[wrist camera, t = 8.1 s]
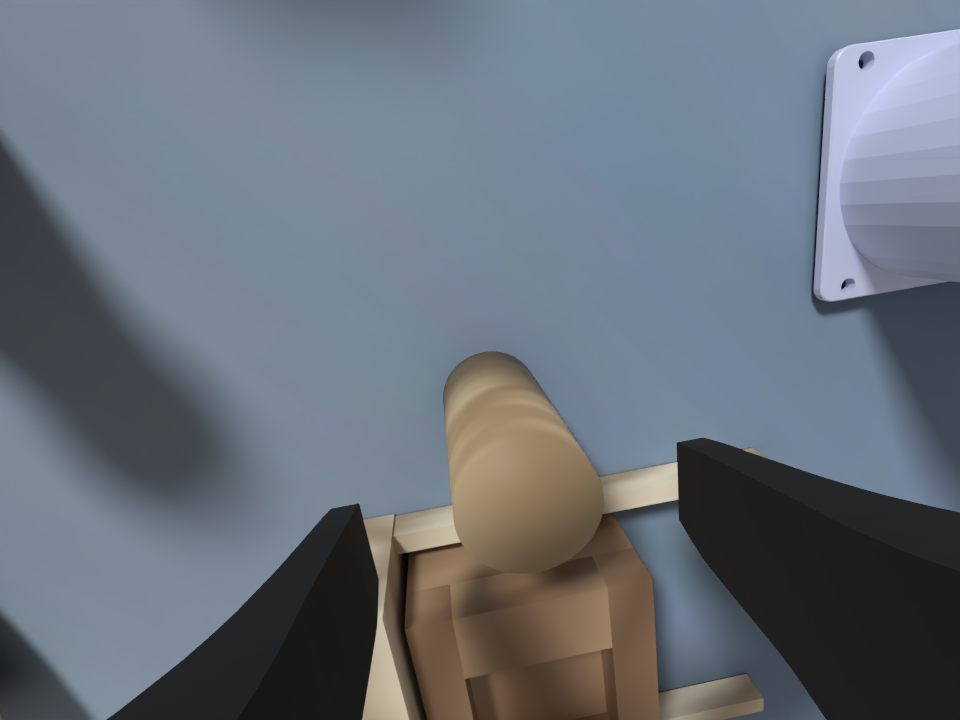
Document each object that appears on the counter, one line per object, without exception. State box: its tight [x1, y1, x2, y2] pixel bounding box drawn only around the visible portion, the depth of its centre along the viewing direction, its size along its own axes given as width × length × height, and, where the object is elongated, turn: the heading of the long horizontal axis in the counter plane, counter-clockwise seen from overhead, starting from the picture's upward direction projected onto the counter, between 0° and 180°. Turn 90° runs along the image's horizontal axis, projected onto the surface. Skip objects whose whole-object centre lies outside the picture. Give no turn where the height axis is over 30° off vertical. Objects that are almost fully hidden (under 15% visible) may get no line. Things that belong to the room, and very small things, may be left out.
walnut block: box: [405, 513, 660, 720], centre depth 19 cm, size 8×10×4 cm
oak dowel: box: [443, 352, 604, 574], centre depth 14 cm, size 3×3×7 cm
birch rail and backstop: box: [362, 448, 766, 720], centre depth 18 cm, size 16×13×5 cm
